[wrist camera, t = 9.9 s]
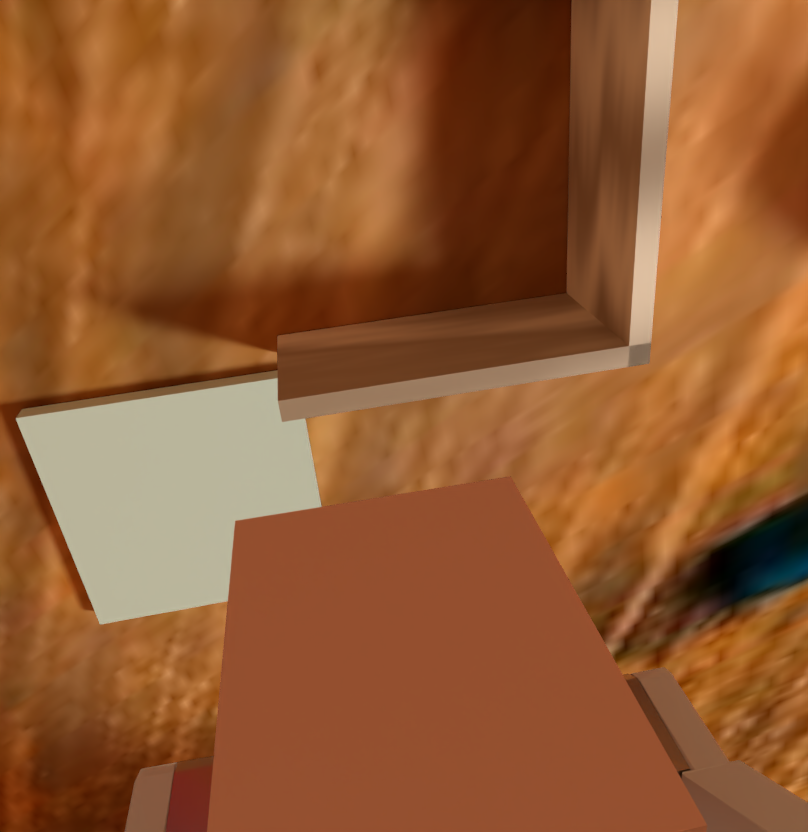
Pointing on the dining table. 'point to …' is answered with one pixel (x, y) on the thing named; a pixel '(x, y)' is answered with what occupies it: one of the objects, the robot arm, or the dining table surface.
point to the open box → (586, 251)
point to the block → (425, 680)
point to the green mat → (167, 485)
